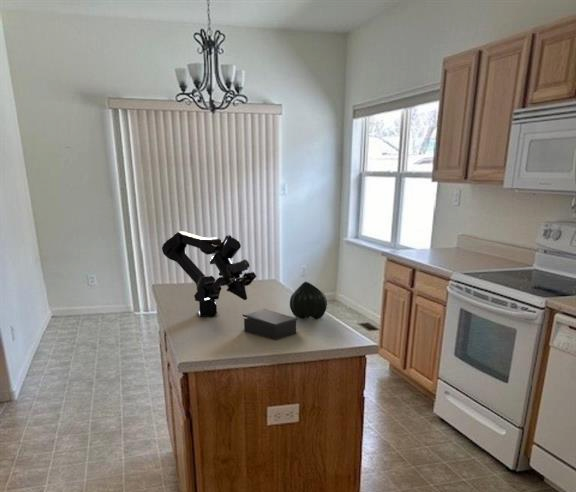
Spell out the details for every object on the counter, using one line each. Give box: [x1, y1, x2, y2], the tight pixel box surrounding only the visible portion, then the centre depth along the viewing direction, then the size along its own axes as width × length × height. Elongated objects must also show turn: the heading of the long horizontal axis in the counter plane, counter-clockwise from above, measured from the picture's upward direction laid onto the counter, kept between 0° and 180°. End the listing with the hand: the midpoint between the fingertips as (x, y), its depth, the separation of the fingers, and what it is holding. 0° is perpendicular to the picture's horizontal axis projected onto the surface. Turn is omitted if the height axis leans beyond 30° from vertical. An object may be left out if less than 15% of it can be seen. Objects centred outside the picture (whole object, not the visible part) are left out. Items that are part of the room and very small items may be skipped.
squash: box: [289, 281, 328, 320], centre depth 216 cm, size 14×15×15 cm
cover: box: [242, 308, 298, 326], centre depth 196 cm, size 16×12×1 cm
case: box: [243, 317, 297, 340], centre depth 197 cm, size 16×12×5 cm
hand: (245, 299), depth 202 cm, fingers closed
